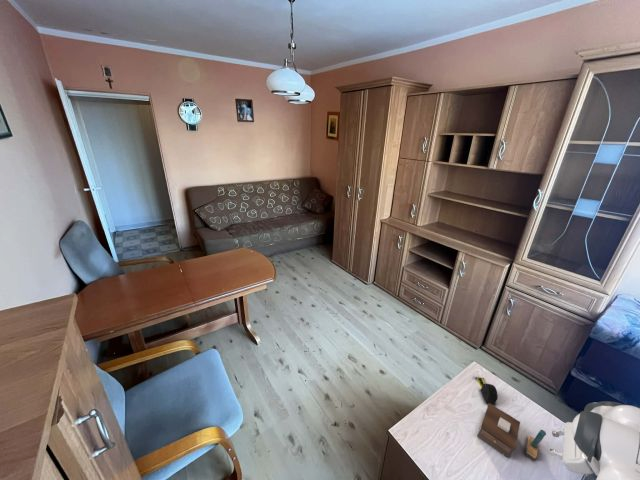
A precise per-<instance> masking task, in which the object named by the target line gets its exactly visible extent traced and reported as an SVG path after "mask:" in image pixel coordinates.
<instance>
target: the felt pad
mask: <svg viewBox="0 0 640 480" xmlns="http://www.w3.org/2000/svg"><path fill="white" fill-rule="evenodd" d="M510 425H511V424H510V423H509V422H507V421H506V420H504V419H503V418H501V417H500V419H499V422H498V427H500V428H501V429H503V430H505V431H506V432H509V429H510Z"/></svg>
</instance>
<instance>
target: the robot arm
mask: <svg viewBox="0 0 640 480" xmlns="http://www.w3.org/2000/svg"><path fill="white" fill-rule="evenodd" d="M563 426H564V427H563V428H560V429H557V430H553V429H552V430H551V435H552V436H553V437H554V438H560V437H561V436H563V442H562V443H563V444H562V452H561V451H560V452H557V450H556V449H555V448H550V449H549V454H550V455H551V456H552V457H556V458H558V459H560V460H562V463H563V465H564V466H565V468H566V469H567V470H568V471H569V472H572V473H576V474H581V475H592V474H595V476H597V477H596V478H595V480H640V407H637V406H634V405H629V404H623V403H620V402H617V401H608V400H602V401H598V402H590V403H589V402H588V403H587V404H586V405H585V407H584V408H583V410H581V411H580V412H579V413H578V414H577V415H576V416H575V417H574V418H573V420H572V422H571V421H566V422H564V425H563Z"/></svg>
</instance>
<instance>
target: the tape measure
mask: <svg viewBox="0 0 640 480" xmlns="http://www.w3.org/2000/svg"><path fill="white" fill-rule="evenodd" d="M475 379H476V380H477V382H478V384H479V386H480V393H481V395H482V398H483V401H484V403H485V404H486V405H488V404H489V403H490V404H492V405H494V406H495V405H496V403H497V400H498V397H499V396H498V389H497V387H496V386H495V385H494V384H490V383H488V382H487V383H486V382H485V380H484V377H483V378H482V377H478V376H475Z"/></svg>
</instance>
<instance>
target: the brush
mask: <svg viewBox="0 0 640 480" xmlns="http://www.w3.org/2000/svg"><path fill="white" fill-rule="evenodd" d="M546 435H547V433H546V431H545V430H544V429H539V431H538V433H537V434H536V435H535V436H534V437H533V436H532V435H529V437H528V439H527V441H526V448H525V449H526V450H525V454H524V456H526V457H527V458H529V459H531V460H532V461H535V459H536V458H537V457H538V452H539V445H540V444H541V442H542V441H543V439H544V438H545V436H546Z"/></svg>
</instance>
